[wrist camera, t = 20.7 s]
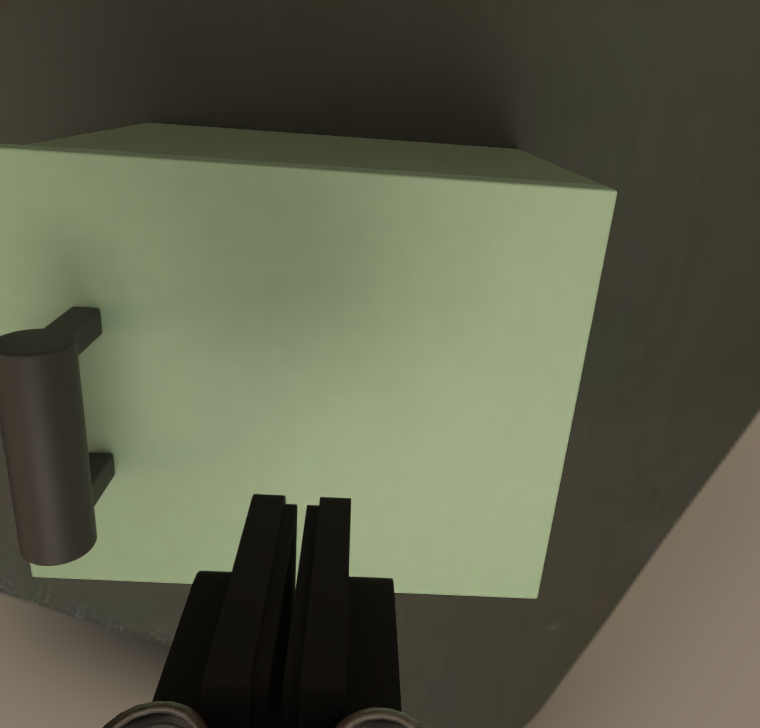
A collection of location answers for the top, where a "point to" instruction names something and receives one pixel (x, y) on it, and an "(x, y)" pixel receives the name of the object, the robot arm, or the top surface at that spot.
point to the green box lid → (289, 361)
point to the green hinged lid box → (321, 151)
